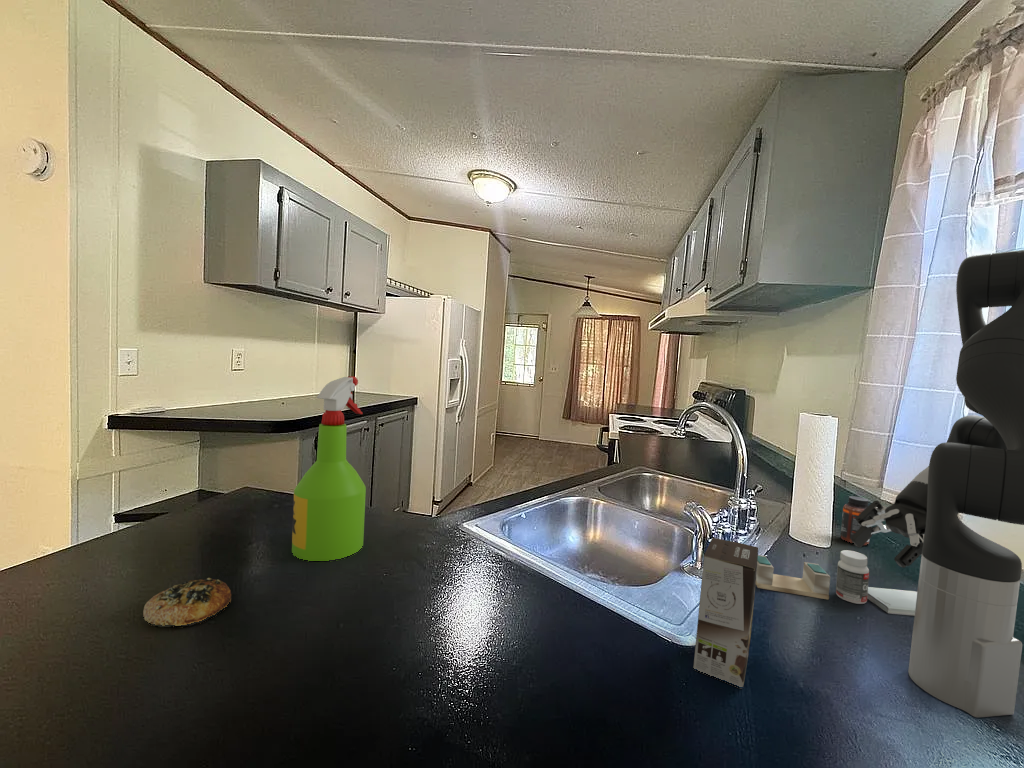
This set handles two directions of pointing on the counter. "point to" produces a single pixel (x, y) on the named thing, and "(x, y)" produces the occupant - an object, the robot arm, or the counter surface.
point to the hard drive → (893, 600)
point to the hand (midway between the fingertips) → (875, 553)
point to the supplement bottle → (852, 517)
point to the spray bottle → (330, 487)
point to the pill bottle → (852, 577)
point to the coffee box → (726, 610)
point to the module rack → (794, 580)
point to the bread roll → (187, 602)
